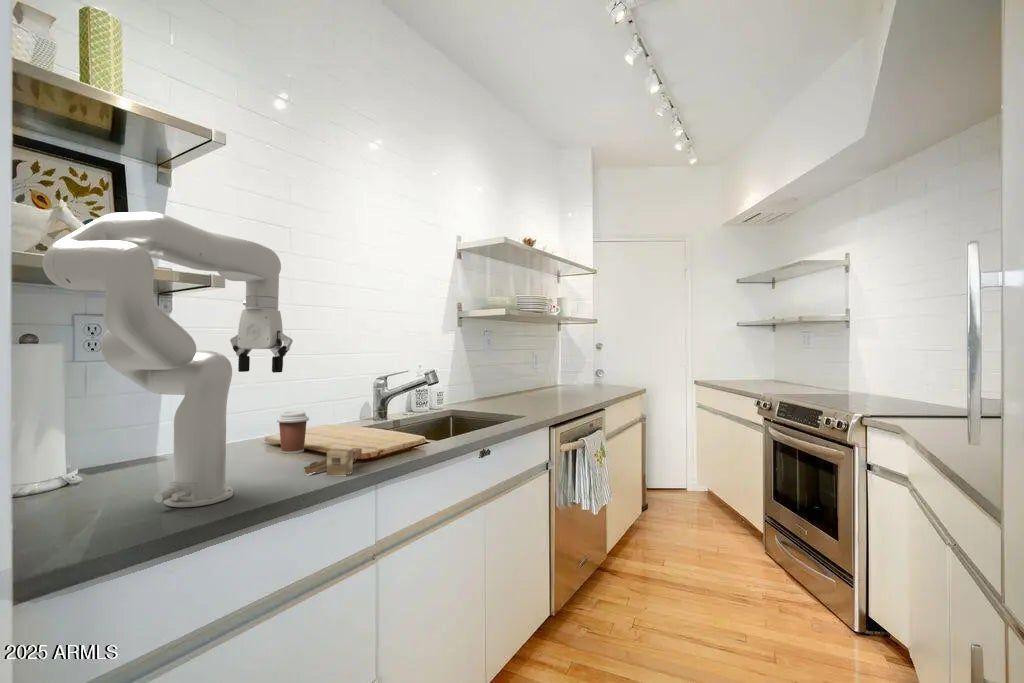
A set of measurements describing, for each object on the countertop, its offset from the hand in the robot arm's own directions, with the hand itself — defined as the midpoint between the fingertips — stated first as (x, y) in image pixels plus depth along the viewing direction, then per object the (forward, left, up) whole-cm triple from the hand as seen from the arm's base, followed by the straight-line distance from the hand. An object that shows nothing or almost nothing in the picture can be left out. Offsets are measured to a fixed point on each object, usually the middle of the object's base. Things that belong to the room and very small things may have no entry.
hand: (260, 371), depth 128 cm
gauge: (+8, -20, -26) cm, 34 cm away
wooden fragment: (+13, -13, -27) cm, 32 cm away
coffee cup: (+26, +7, -26) cm, 38 cm away
